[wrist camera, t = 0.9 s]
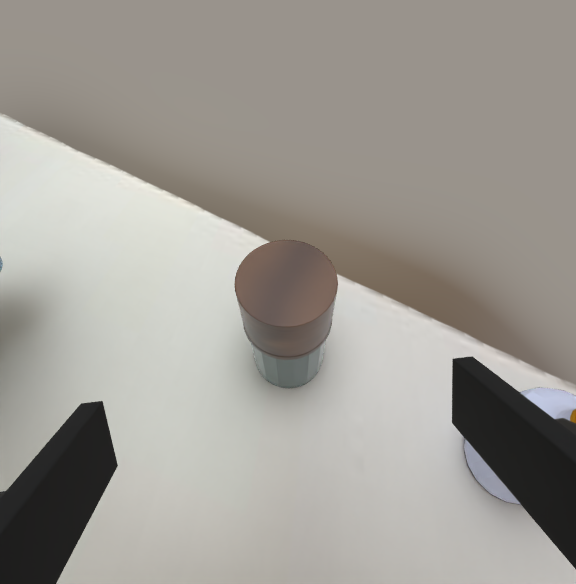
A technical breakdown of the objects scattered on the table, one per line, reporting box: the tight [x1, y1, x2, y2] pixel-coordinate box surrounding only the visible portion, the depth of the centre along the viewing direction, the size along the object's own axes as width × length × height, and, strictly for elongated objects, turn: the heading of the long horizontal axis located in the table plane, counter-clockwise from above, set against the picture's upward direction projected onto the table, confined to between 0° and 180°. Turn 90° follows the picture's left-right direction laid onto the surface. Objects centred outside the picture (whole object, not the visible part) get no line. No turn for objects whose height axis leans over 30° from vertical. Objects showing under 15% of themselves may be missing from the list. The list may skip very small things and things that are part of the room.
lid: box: [235, 240, 338, 360], centre depth 37 cm, size 9×9×9 cm
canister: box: [251, 340, 326, 388], centre depth 44 cm, size 8×8×10 cm
